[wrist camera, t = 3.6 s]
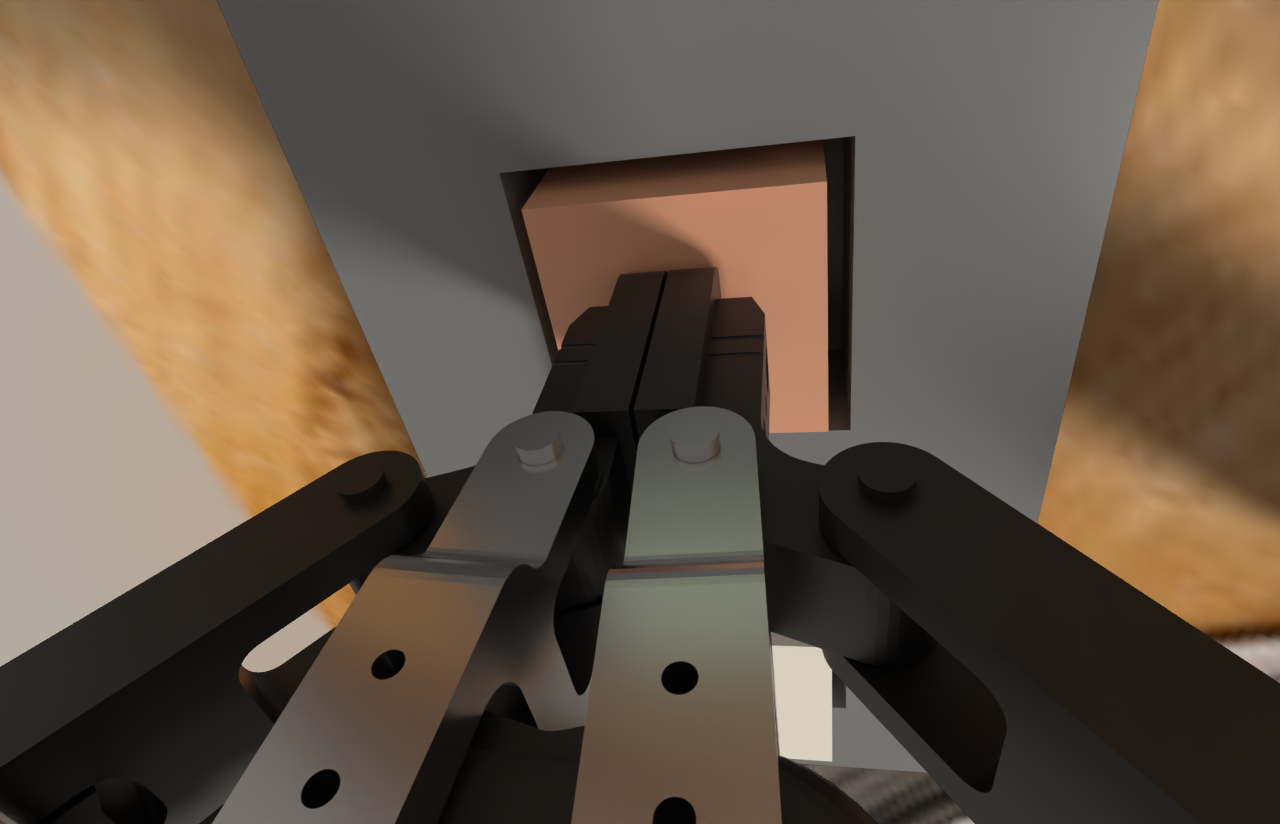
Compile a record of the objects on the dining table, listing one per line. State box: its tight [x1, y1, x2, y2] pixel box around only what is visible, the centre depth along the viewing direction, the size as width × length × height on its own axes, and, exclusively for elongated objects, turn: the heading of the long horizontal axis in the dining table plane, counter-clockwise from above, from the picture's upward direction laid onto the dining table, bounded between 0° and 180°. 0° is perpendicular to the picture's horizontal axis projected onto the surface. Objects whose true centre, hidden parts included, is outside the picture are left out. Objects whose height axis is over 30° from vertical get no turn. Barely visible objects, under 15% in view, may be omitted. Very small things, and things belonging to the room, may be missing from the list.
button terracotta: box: [521, 139, 829, 433], centre depth 13 cm, size 4×4×3 cm
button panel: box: [217, 0, 1159, 773], centre depth 13 cm, size 12×29×3 cm, turn 9°
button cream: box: [771, 632, 832, 762], centre depth 18 cm, size 4×4×3 cm
